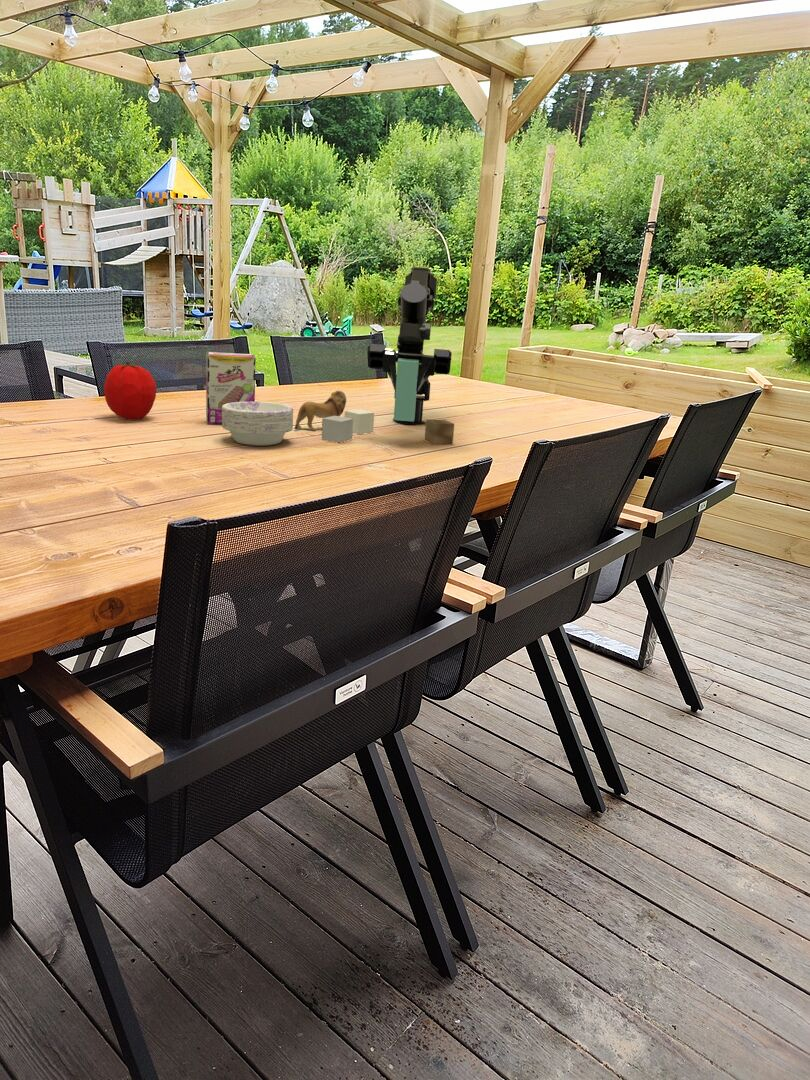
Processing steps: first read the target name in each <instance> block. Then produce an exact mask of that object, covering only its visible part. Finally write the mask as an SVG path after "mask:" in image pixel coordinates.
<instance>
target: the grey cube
mask: <svg viewBox="0 0 810 1080" xmlns="http://www.w3.org/2000/svg"><path fill="white" fill-rule="evenodd" d="M321 419H322V421H321V425H322V426H321V440H322V441H326V440H328V441H327V442H331V441H334V442H333V443H336V442H340V443H339V444H342V443H341V442H343V443H345V442H344V441H347V440H350V439H352V440H353V433H352V428H353V419H351V418H346V417H345V416H341V415H340V416H330V417H326V418H321ZM350 441H351V440H350ZM347 442H348V441H347Z"/></svg>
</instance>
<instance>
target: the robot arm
mask: <svg viewBox="0 0 810 1080" xmlns="http://www.w3.org/2000/svg"><path fill="white" fill-rule="evenodd" d="M431 271H432V268H431V269H430V268H428V267H422V266H421V267H419V266H418V267H417V266H413V267H411V269H410V273H408V274H407V275H406V276H405V279H404V286H403V287H402V289H401V290H400V293H399V295H398V297H397V306H398V309H400V314H401V318H400V325H399V334H398V336H397V343H396V349H397V351H396V350H395V349H393V348H387V346H386V344H379V343H370V344H369V345H368V346H367V351H366V354H367V356H366V357H367V367H368V368H369V369H371V370H372V369H373V370H382V372H384V373H387V375H388V376H389V378H390V380H391V381H390V382H391V384H392V387H393V390H394V393H395V392H396V377H397V363H398V359H399V358H402V359H415V360H419V368H418V380H417V387H416V391H417V394H416V407H415V419H414V422H412V421H400V420H394V417H393V418H392V421H394V422H397V423H401V424H403V425H408V426H409V425H422V424H424V425H425V424H426V420H423V415H424V413H423V411H424V410H423V409H424V402H428V401H430V397H431V396H430V394H431V382H430V380H429V377H432V376H434V375H435V374H436V375H437V374H438V375H449V374H450V372H451V363H452V354H453V353H452V351H451V350H450V349H445V348H444V349H440V348H434V349H433V355H431V354H430V355H429V354H425V353H424V344H425V341H430V340H431V330H432V329H431V328H432V324H431V323H427V318H426V317H427V316H428V315H429V312H430V311H432V310H433V307H434V306H435V300H437V287H438V279H437V277H436V276H435V275H433V274H432V272H431ZM393 398H394V400H395V395H394V397H393Z"/></svg>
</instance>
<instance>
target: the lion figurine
mask: <svg viewBox="0 0 810 1080" xmlns="http://www.w3.org/2000/svg"><path fill="white" fill-rule="evenodd" d="M346 404H347V396H346V393H345V392H344V391H342V390H335V391H333V392H332V393H331V394H330V397H329V398H327V400H326V401H324V402H315V401H312V400H311V401H306V402H304V403H303V404H302V405H301V406H300V408H299V409H298V413H297V416H296V417H297V418H296V420H295V421H296V422H295V426H294V427H293V429H294V430H297V429H298V430H299V429H301V428H302V427H301V425H300V423H301V422H302V421H303V420H305V419H306V418H307V427H308V428H309V429H310V431H311V432H316V431H317V429H316V428H315V427H313V421H314V418H315V417H316V418H320V419H322V418H326V417H330V416H340V417H341V415H342V414H343V412H345V408H346Z"/></svg>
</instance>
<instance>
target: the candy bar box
mask: <svg viewBox="0 0 810 1080" xmlns="http://www.w3.org/2000/svg"><path fill="white" fill-rule="evenodd" d="M205 354H206V355H205V359H206V360H205V362H206V363H205V364H206V365H205V366H206V367H205V373H206V374H205V376H206V377H205V378H206V379H205V381H206V382H205V386H206V388H205V392H206V394H205V397H206V398H205V400H206V403H205V404H206V405H205V407H206V408H205V409H206V411H205V415H206V417H205V419H206V423H207V425H222V406H223V405H224V404H227V403H232V402H256V401H255V399H256V356H255V355H254V354H252V353H236V352H235V353H233V352H215V351H206V353H205Z"/></svg>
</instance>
